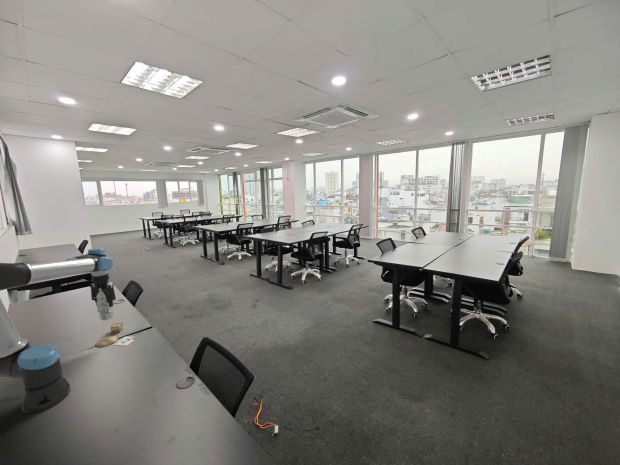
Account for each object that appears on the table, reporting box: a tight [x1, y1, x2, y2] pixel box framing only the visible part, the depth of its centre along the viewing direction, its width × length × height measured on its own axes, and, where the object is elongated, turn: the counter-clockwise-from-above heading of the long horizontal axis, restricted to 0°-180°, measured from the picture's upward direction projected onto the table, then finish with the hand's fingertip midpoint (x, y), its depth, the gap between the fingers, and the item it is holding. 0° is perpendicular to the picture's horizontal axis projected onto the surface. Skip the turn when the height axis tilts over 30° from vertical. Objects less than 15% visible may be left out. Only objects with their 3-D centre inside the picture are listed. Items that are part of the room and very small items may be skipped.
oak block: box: [110, 321, 124, 335], centre depth 166 cm, size 5×5×5 cm
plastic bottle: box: [96, 288, 114, 321], centre depth 150 cm, size 6×7×20 cm
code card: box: [113, 336, 135, 347], centre depth 155 cm, size 9×9×1 cm
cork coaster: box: [95, 336, 118, 348], centre depth 154 cm, size 10×10×1 cm
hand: (105, 311), depth 151 cm, fingers closed on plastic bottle, 6 cm apart
